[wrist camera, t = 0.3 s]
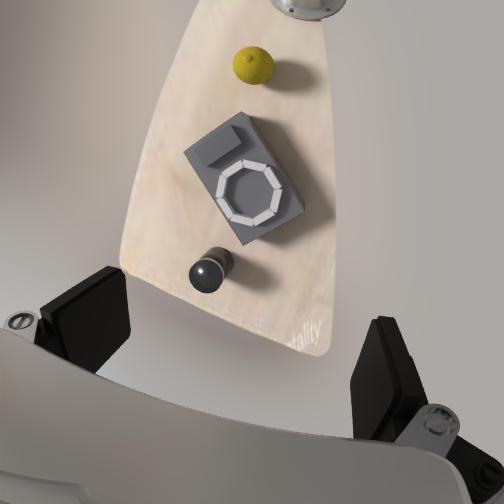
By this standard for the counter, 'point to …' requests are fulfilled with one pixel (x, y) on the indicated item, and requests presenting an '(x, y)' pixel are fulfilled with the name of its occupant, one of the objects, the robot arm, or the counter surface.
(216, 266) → the lens
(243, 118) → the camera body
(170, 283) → the counter surface
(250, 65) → the lemon
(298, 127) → the counter surface
